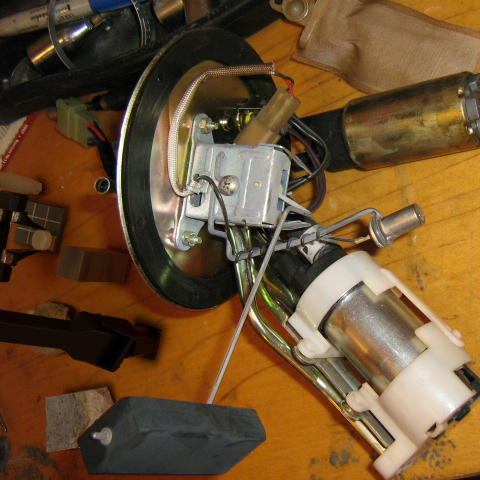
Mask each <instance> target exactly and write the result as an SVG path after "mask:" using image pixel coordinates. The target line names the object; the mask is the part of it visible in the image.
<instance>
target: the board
mask: <svg viewBox="0 0 480 480" xmlns="http://www.w3.org/2000/svg"><path fill="white" fill-rule="evenodd" d="M24 211H26V212H28V217H29V218H30V219H31V220H32V221H33V222H35V223H36V224H38V225H40V226H41V227H43V228H45V229H46V230H47V231H49V232H50V234H51V236H52V242H51V245H50V247H49V248H48V249H47V250H46V251H49V252H53V253H58V252H59V248H60V244H61V239H62V234H63V230H64V227H65V222H66V216H67V214H68V213H67V212H68V209H67V208H62V207H57V206H53V205H50V204H49V205H48V204H45V203H39V202H35V201H31V200H28V201H27V206H26V210H24ZM37 230H38V229H34V228H30V227H27V226H23V225H20V224H16V229H15V234H14V237H13V238H14V239H13V242H17V243H20V244H24V245H28V246H31V247H33V245H32V237H33V234H34V233H35V232H36V231H37Z"/></svg>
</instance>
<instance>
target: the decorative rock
mask: <svg viewBox="0 0 480 480" xmlns="http://www.w3.org/2000/svg"><path fill="white" fill-rule="evenodd" d="M69 311H70V307H69V306H65V305H64V304H63V303H58V302H57V303H55V302H51V301H45V302H42V303H40V304H39V305H38V306H37V307H36V308H29V309H27V310H26V312H25V313H27V314H33V315H39V316H45V317H51V318H57V319H63V320H71V319H72V317H70V314H69ZM30 348H31V352H34V353H37V354H41V355H44V356H49V357H51V356H53V357H56V356H58V355H59V354H64V353H65V352H64V351H63V350H61V349H55V348H47V347H38V346H30Z"/></svg>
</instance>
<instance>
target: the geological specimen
mask: <svg viewBox="0 0 480 480" xmlns="http://www.w3.org/2000/svg"><path fill="white" fill-rule="evenodd" d="M112 404H115V402H114V400H113V398H112V395H111V391H110V390H109V386H103V387H97V388H92V389H91V388H90V389H85V390H79V391H71V392H67V393H61V394H56V395H50V396H46V397H45V405H44V409H45V418H46V419H45V421H46V422H45V436H46V440H45V444H46V451H45V452H46V453H50V452H51V453H52V452H58V451H65V450H70V449H76V448H79V447H78V444H77V439H78V437H79V436H80V435H81V434H82V433H83V432H84V431H85V430H86V429H87V428H88V427H89V426H91V425H92V424H93V423H94V421H95V420H96V419H98V418H99V417H100V416H101V415H102V414H103V413H104V412H105V411H106V410H107V409H108V408H109V407H110V406H111V405H112Z"/></svg>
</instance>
